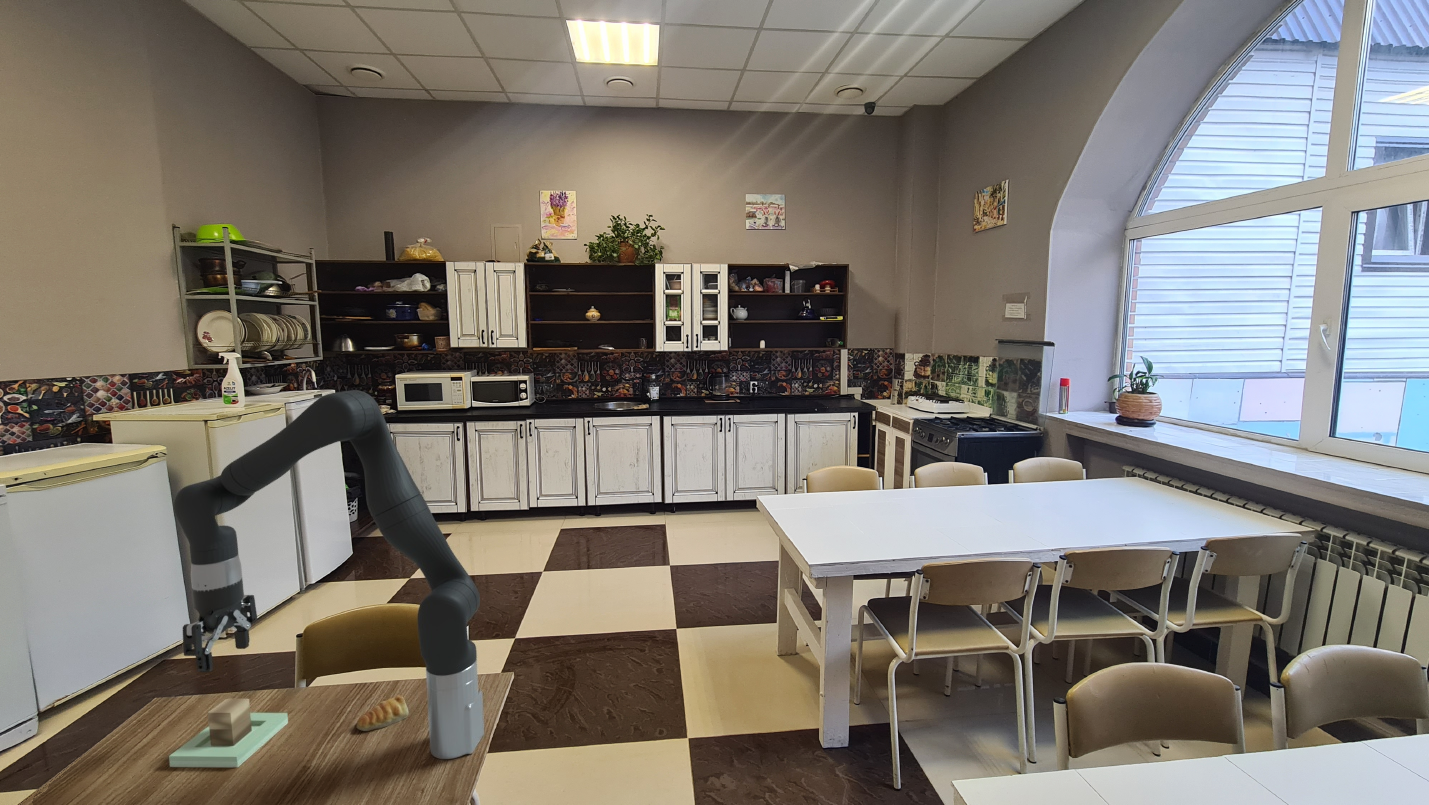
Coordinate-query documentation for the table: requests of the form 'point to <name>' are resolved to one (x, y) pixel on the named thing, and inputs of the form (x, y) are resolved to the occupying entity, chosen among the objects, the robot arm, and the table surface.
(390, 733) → the table surface
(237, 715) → the wooden block
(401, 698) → the pastry
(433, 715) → the robot arm
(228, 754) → the plate
